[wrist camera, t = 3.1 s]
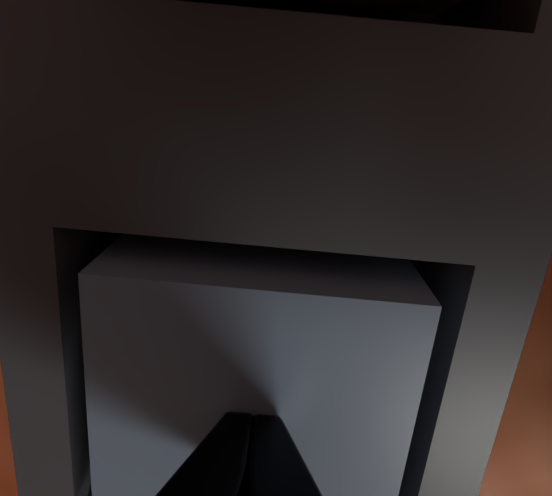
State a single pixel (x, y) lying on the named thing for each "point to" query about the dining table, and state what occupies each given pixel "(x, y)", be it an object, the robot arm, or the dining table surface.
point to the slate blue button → (252, 357)
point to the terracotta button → (393, 4)
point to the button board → (275, 183)
